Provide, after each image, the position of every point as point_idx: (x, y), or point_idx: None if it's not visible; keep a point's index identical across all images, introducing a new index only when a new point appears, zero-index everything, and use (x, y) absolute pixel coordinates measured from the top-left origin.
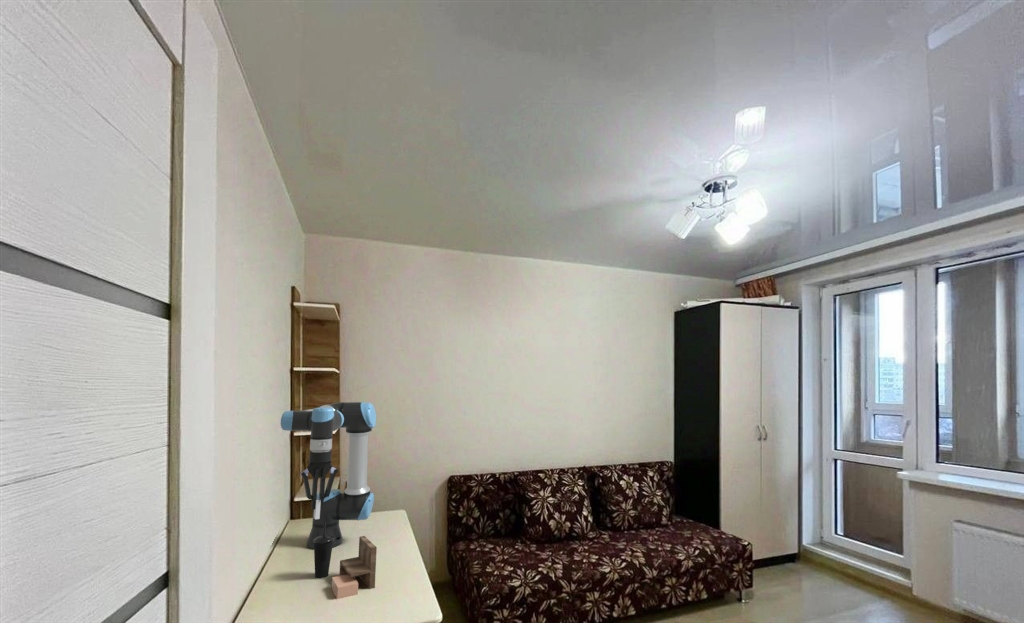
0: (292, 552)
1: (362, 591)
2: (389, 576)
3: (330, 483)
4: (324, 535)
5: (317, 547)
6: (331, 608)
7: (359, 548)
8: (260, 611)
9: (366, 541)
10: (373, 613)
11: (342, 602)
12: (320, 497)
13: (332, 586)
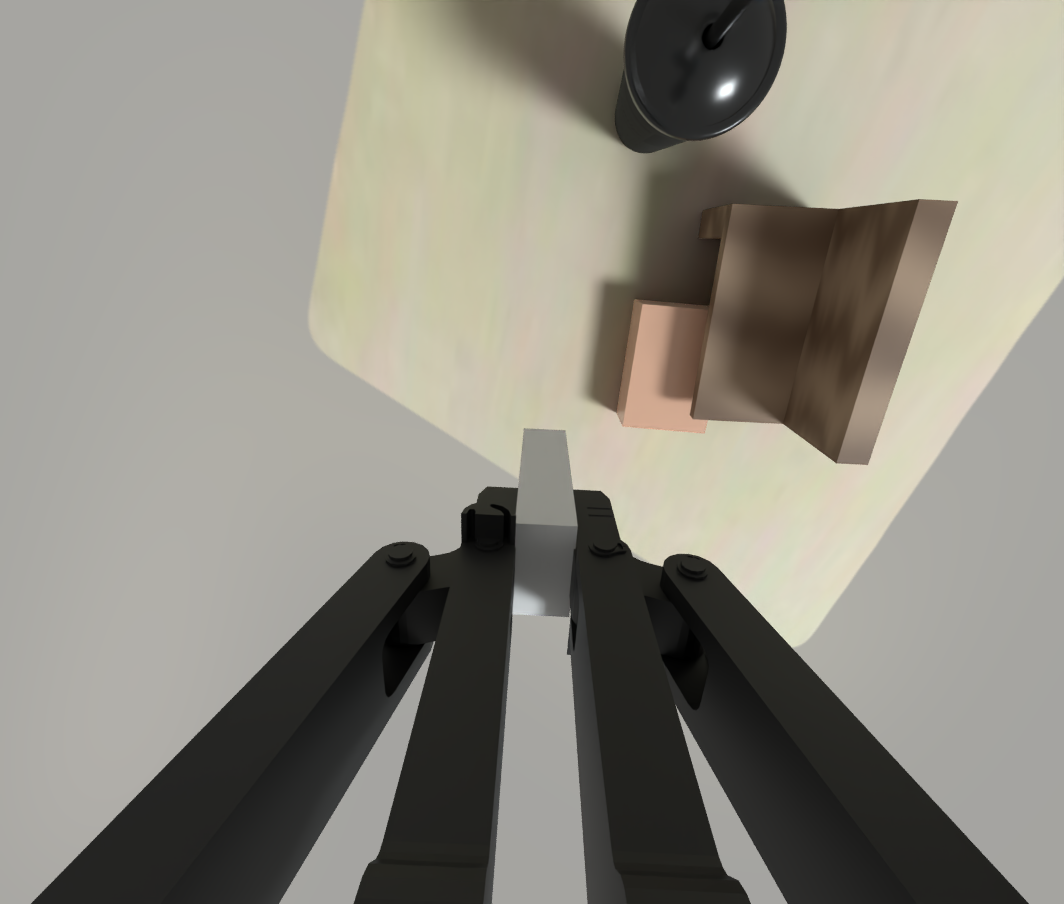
0: None
1: None
2: None
3: (784, 856)
4: (715, 43)
5: (635, 108)
6: (574, 469)
7: (865, 220)
8: (355, 350)
9: (889, 333)
10: None
11: (621, 448)
12: (570, 624)
13: (633, 319)
